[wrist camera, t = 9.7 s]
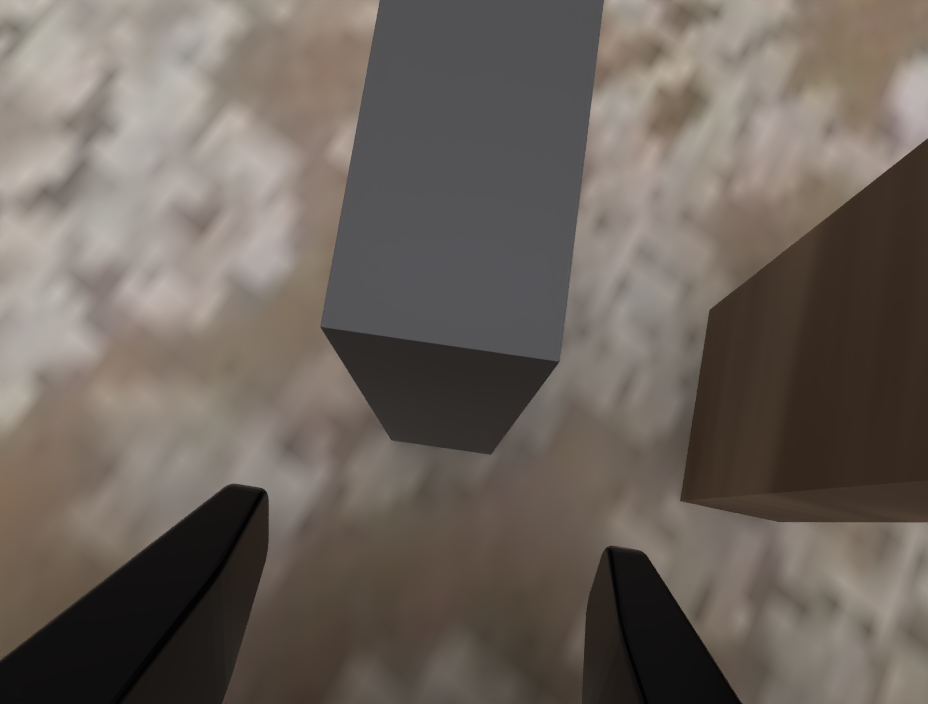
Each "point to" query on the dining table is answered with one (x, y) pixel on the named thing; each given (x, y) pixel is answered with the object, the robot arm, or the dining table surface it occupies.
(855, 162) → the dining table surface
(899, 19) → the dining table surface
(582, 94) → the dark gray rectangular block
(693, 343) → the dining table surface
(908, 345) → the domino
